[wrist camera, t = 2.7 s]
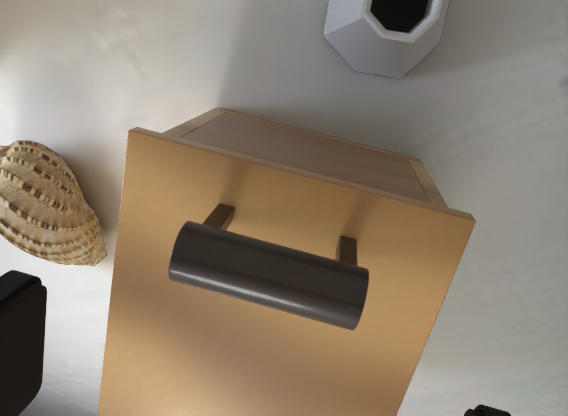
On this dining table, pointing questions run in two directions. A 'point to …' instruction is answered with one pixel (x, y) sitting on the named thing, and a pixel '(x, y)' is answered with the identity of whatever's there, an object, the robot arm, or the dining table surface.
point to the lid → (267, 287)
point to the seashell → (46, 207)
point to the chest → (311, 153)
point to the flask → (384, 33)
